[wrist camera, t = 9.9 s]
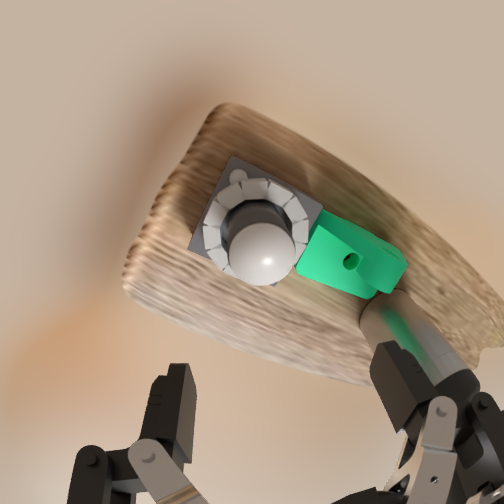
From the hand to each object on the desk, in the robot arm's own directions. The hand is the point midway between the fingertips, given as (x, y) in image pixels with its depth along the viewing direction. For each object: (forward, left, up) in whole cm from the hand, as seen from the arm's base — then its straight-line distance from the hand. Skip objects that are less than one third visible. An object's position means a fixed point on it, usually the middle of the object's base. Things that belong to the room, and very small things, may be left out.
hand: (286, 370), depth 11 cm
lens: (0, 0, -18) cm, 18 cm away
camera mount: (-10, -7, -22) cm, 25 cm away
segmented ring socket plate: (0, 0, -22) cm, 22 cm away
